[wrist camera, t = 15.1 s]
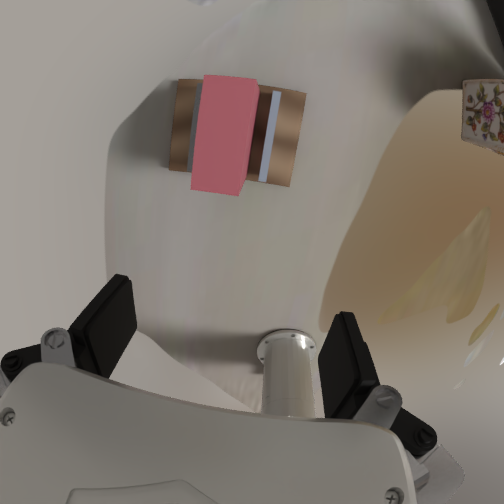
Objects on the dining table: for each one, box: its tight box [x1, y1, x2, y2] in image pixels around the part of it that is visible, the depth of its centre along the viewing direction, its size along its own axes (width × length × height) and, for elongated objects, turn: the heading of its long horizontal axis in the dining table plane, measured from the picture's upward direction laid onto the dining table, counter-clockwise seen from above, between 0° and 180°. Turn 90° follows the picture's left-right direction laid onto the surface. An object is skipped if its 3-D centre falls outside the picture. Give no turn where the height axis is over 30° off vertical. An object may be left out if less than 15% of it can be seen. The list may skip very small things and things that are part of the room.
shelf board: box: [169, 79, 307, 187], centre depth 36 cm, size 14×18×2 cm
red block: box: [191, 75, 260, 196], centre depth 30 cm, size 12×5×12 cm, turn 172°
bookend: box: [187, 83, 203, 172], centre depth 33 cm, size 12×1×4 cm, turn 172°
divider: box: [258, 91, 281, 182], centre depth 33 cm, size 12×1×4 cm, turn 172°
